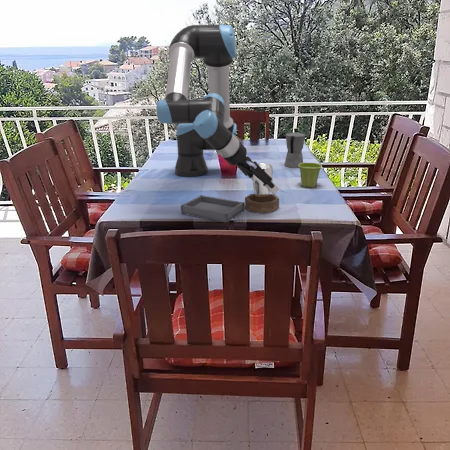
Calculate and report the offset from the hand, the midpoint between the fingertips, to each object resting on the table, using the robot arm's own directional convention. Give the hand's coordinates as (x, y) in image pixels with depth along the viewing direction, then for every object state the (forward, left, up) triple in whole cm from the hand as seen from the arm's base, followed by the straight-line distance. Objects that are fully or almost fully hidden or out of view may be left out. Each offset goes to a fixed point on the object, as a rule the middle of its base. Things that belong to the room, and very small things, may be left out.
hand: (270, 189), depth 155 cm
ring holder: (-2, -3, -6) cm, 7 cm away
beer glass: (-2, -3, -6) cm, 7 cm away
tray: (-15, -16, -6) cm, 22 cm away
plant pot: (+4, +30, -6) cm, 31 cm away
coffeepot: (-13, +57, -6) cm, 58 cm away
